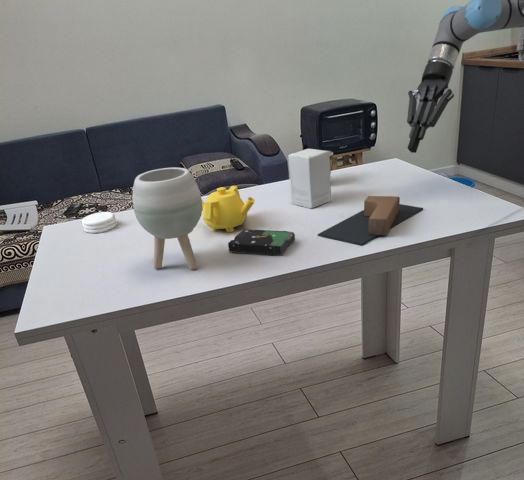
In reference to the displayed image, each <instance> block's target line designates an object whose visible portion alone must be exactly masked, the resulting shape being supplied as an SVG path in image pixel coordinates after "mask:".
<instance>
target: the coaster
mask: <svg viewBox="0 0 524 480" xmlns="http://www.w3.org/2000/svg"><path fill="white" fill-rule="evenodd" d="M81 223H82V227H83V230H84V232H86V233H89V234H100V233H104V232H105V233H106V232H109V231H111V230H112V229H114V228H115V227H117V224H118V222H117V219H116V214H114V213H113V212H110V211H99V212H94V213H91V214H89V215H86V216H85V217H83V218H82V219H81Z"/></svg>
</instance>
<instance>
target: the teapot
mask: <svg viewBox="0 0 524 480" xmlns="http://www.w3.org/2000/svg"><path fill="white" fill-rule="evenodd" d="M254 203H255V199H254V198H253V197H250V196H249V197H247V199H246V200H245V202H244V200H243V199H242V198H241V195H240V190H239V188H238V185H231V186H230V187H229V189H227V188H226V187H224V186H221V187H217V188H216V191H212V192H211V193H209V195H208V196H207V198H206V201H205V202H204V200H202V220H203V222H204V224H206V225H207V226H208V227H210V229H209V230H210V231H211V232H213V231H218V230H224V229H225V230H226V232H227V233H232V232H234V231H235V229H234V228H235V227H238V226H242V225H243V224H244V222H245V220H246V219H247V218H248V212H249V211H250V210H251V209H252V207H253V205H254Z"/></svg>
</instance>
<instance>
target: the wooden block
mask: <svg viewBox="0 0 524 480" xmlns="http://www.w3.org/2000/svg"><path fill="white" fill-rule="evenodd" d="M400 200H401V197H400V196H392V195H390V196H389V195H368V196H367V197H366V198H365V199H364V201H363V210H364V216H369V217H370V218H369V234H370V235H379V236H387V235H388V233H389V231H390V230H391V229H390V227H391V225H392V223H393V222H394V220H395V218H396V216H397V215H398V213H399V205H400V204H401V203H400Z"/></svg>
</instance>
